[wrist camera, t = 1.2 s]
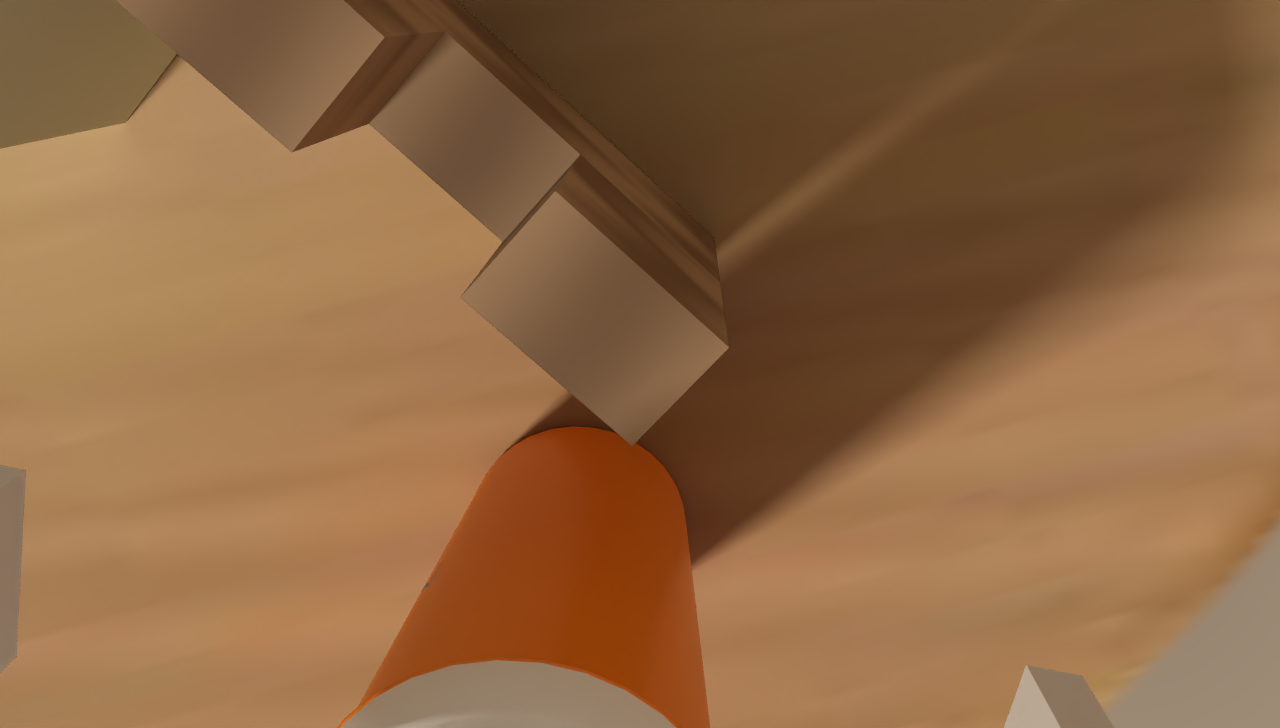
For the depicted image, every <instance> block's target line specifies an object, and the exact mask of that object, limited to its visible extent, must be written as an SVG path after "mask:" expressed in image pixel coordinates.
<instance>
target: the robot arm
mask: <svg viewBox="0 0 1280 728" xmlns="http://www.w3.org/2000/svg"><path fill="white" fill-rule="evenodd" d="M25 477H26V470H23V469H18V468H13V467H8V466H3V465H0V673H1V672H2V671H3V670H4V669H5V668H6V667H7V666H8V665H9V664H10V663H11V662H12V661H13V660H14V659H15V658H16V657H17V637H18V617H19V597H20V577H21V557H22V537H23V517H24V497H25ZM1004 728H1114V726H1113V725H1112V723H1111V721H1110V720H1109V718H1108V716H1107V715H1106V713H1105V712H1104V710H1103V708H1102V707H1101V705H1100V704H1099V702H1098V700H1097V699H1096V697H1095V695H1094V694H1093V692H1092V691H1091V689H1090V687H1089V686H1088V684H1087V683H1086V681H1085V679H1084V678H1083V676H1081V675H1076V674H1071V673H1065V672H1060V671H1055V670H1050V669H1045V668H1040V667H1035V666H1029V665H1026V667H1025V670H1024V673H1023V676H1022V679H1021V681H1020V684H1019V687H1018V690H1017V693H1016V695H1015V698H1014V701H1013V704H1012V707H1011V710H1010V712H1009V715H1008V718H1007V721H1006V724H1005V726H1004Z"/></svg>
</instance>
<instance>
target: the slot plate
mask: <svg viewBox="0 0 1280 728" xmlns="http://www.w3.org/2000/svg"><path fill="white" fill-rule="evenodd" d="M176 55H177V53H176V52H175V51H174V50H172V49H171V48H170V47H169V46H168V45H167V44H165V43H164V42H163V41H162V40H161V39H160V38H158V37H157V36H156V35H155V34H154V33H153V32H152V31H150V30H149V29H148V28H147V27H146V26H145V25H143V24H142V23H141V22H140V21H139V20H138V19H136V18H135V17H134V16H133V15H132V14H131V13H130V12H128V11H127V10H126V9H125V8H124V7H123V6H121V5H120V4H119V3H118V2H117V1H116V0H0V148H5V147H10V146H15V145H20V144H24V143H29V142H34V141H39V140H44V139H49V138H53V137H58V136H63V135H68V134H73V133H77V132H82V131H87V130H92V129H97V128H102V127H106V126H111V125H116V124H121V123H125V122H126V121H127V120H128V118H129V117H130V116H131V114H132V113H133V112H134V110H135V109H136V108H137V106H138V105H139V104H140V102H141V101H142V100H143V98H144V97H145V96H146V94H147V93H148V92H149V91H150V89H151V88H152V87H153V85H154V84H155V83H156V81H157V80H158V79H159V77H160V76H161V75H162V73H163V72H164V71H165V69H166V68H167V67H168V65H169V64H170V63H171V61H172V60H173V59H174V57H175V56H176Z"/></svg>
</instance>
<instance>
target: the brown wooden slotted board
mask: <svg viewBox="0 0 1280 728" xmlns="http://www.w3.org/2000/svg"><path fill="white" fill-rule="evenodd" d="M116 1H117V2H118V3H119V4H120V5H121V6H123V7H124V8H125V9H126V10H127V11H128V12H130V13H131V14H132V15H133V16H134V17H135V18H136V19H138V20H139V21H140V22H141V23H142V24H143V25H145V26H146V27H147V28H148V29H149V30H150V31H152V32H153V33H154V34H155V35H156V36H157V37H158V38H160V39H161V40H162V41H163V42H164V43H165V44H167V45H168V46H169V47H170V48H171V49H172V50H174V51H175V52H176V53H177V54H178V55H179V56H181V57H182V58H183V59H184V60H185V61H186V62H187V63H189V64H190V65H191V66H192V67H193V68H194V69H196V70H197V71H198V72H199V73H200V74H201V75H203V76H204V77H205V78H206V79H207V80H208V81H209V82H211V83H212V84H213V85H214V86H215V87H216V88H218V89H219V90H220V91H221V92H222V93H223V94H225V95H226V96H227V97H228V98H229V99H230V100H232V101H233V102H234V103H235V104H236V105H237V106H238V107H240V108H241V109H242V110H243V111H244V112H245V113H247V114H248V115H249V116H250V117H251V118H252V119H254V120H255V121H256V122H257V123H258V124H259V125H260V126H262V127H263V128H264V129H265V130H266V131H267V132H269V133H270V134H271V135H272V136H273V137H274V138H276V139H277V140H278V141H279V142H280V143H281V144H283V145H284V146H285V147H286V148H287V149H288V150H289V151H291V152H294V151H297V150H299V149H302V148H305V147H307V146H310V145H313V144H316V143H318V142H321V141H324V140H326V139H329V138H332V137H334V136H337V135H340V134H342V133H345V132H348V131H350V130H353V129H356V128H358V127H361V126H364V125H367V124H370V125H371V126H372V127H373V128H374V129H376V130H377V131H378V132H379V133H380V134H381V135H382V136H383V137H385V138H386V139H387V140H388V141H389V142H390V143H391V144H393V145H394V146H395V147H396V148H397V149H398V150H399V151H400V152H402V153H403V154H404V155H405V156H406V157H407V158H408V159H410V160H411V161H412V162H413V163H414V164H415V165H416V166H417V167H419V168H420V169H421V170H422V171H423V172H424V173H425V174H427V175H428V176H429V177H430V178H431V179H432V180H433V181H435V182H436V183H437V184H438V185H439V186H440V187H441V188H442V189H444V190H445V191H446V192H447V193H448V194H449V195H450V196H452V197H453V198H454V199H455V200H456V201H457V202H458V203H459V204H461V205H462V206H463V207H464V208H465V209H466V210H467V211H469V212H470V213H471V214H472V215H473V216H474V217H475V218H477V219H478V220H479V221H480V222H481V223H482V224H483V225H484V226H486V227H487V228H488V229H489V230H490V231H491V232H492V233H494V234H495V235H496V236H497V237H498V238H499V239H500V240H501V241H503V242H502V244H501V245H500V246H499V247H498V249H497V250H496V251H495V253H494V254H493V255H492V257H491V258H490V259H489V261H488V262H487V263H486V265H485V266H484V267H483V268H482V270H481V271H480V272H479V274H478V275H477V276H476V278H475V279H474V280H473V282H472V283H471V284H470V286H469V287H468V288H467V289H466V291H465V292H464V293H463V295H462V296H461V297H460V298H461V299H462V300H463V301H464V302H466V303H467V304H468V305H469V306H470V307H471V308H473V309H474V310H475V311H476V312H477V313H478V314H480V315H481V316H482V317H483V318H484V319H485V320H486V321H488V322H489V323H490V324H491V325H492V326H493V327H495V328H496V329H497V330H498V331H499V332H500V333H502V334H503V335H504V336H505V337H506V338H507V339H509V340H510V341H511V342H512V343H513V344H514V345H515V346H517V347H518V348H519V349H520V350H521V351H522V352H524V353H525V354H526V355H527V356H528V357H529V358H531V359H532V360H533V361H534V362H535V363H536V364H537V365H539V366H540V367H541V368H542V369H543V370H544V371H546V372H547V373H548V374H549V375H550V376H551V377H553V378H554V379H555V380H556V381H557V382H558V383H559V384H561V385H562V386H563V387H564V388H565V389H566V390H568V391H569V392H570V393H571V394H572V395H573V396H575V397H576V398H577V399H578V400H579V401H580V402H582V403H583V404H584V405H585V406H586V407H587V408H588V409H590V410H591V411H592V412H593V413H594V414H595V415H597V416H598V417H599V418H600V419H601V420H602V421H604V422H605V423H606V424H607V425H608V426H609V427H610V428H612V429H613V430H614V431H615V432H616V433H617V434H619V435H620V436H621V437H622V438H623V439H624V440H626V441H627V442H628V443H629V444H630V445H631V446H633V445H634V444H635V443H636V442H637V441H638V440H639V439H640V438H641V437H642V436H643V435H644V434H645V433H646V432H647V431H648V430H649V429H650V428H651V427H652V426H653V424H654V423H655V422H656V421H657V420H658V419H659V418H660V417H661V416H662V415H663V414H664V413H665V412H666V411H667V410H668V409H669V408H670V407H671V406H672V405H673V404H674V403H675V402H676V401H677V400H678V399H679V398H680V397H681V396H682V395H683V394H684V393H685V392H686V391H687V390H688V389H689V388H690V387H691V386H692V385H693V384H694V383H695V382H696V381H697V380H698V379H699V378H700V377H701V376H702V375H703V374H704V373H705V372H706V371H707V370H708V369H709V367H710V366H711V365H712V364H713V363H714V362H715V361H716V360H717V359H718V358H719V357H720V356H721V355H722V354H723V353H724V352H725V351H726V350H727V349H728V348H729V343H728V336H727V328H726V321H725V314H724V307H723V300H722V293H721V286H720V278H719V271H718V264H717V257H716V250H715V243H714V237H712V236H711V235H710V234H709V233H708V232H707V231H706V230H705V229H704V228H703V227H702V226H700V225H699V224H698V223H697V222H696V221H695V220H694V219H693V218H692V217H691V216H690V215H689V214H687V213H686V212H685V211H684V210H683V209H682V208H681V207H680V206H679V205H678V204H677V203H675V202H674V201H673V200H672V199H671V198H670V197H669V196H668V195H667V194H666V193H665V192H664V191H662V190H661V189H660V188H659V187H658V186H657V185H656V184H655V183H654V182H653V181H652V180H650V179H649V178H648V177H647V176H646V175H645V174H644V173H643V172H642V171H641V170H640V169H639V168H637V167H636V166H635V165H634V164H633V163H632V162H631V161H630V160H629V159H628V158H627V157H625V156H624V155H623V154H622V153H621V152H620V151H619V150H618V149H617V148H616V147H615V146H614V145H612V144H611V143H610V142H609V141H608V140H607V139H606V138H605V137H604V136H603V135H602V134H600V133H599V132H598V131H597V130H596V129H595V128H594V127H593V126H592V125H591V124H590V123H589V122H587V121H586V120H585V119H584V118H583V117H582V116H581V115H580V114H579V113H578V112H577V111H575V110H574V109H573V108H572V107H571V106H570V105H569V104H568V103H567V102H566V101H565V100H564V99H562V98H561V97H560V96H559V95H558V94H557V93H556V92H555V91H554V90H553V89H552V88H551V87H549V86H548V85H547V84H546V83H545V82H544V81H543V80H542V79H541V78H540V77H539V76H537V75H536V74H535V73H534V72H533V71H532V70H531V69H530V68H529V67H528V66H527V65H526V64H524V63H523V62H522V61H521V60H520V59H519V58H518V57H517V56H516V55H515V54H514V53H512V52H511V51H510V50H509V49H508V48H507V47H506V46H505V45H504V44H503V43H502V42H501V41H499V40H498V39H497V38H496V37H495V36H494V35H493V34H492V33H491V32H490V31H489V30H487V29H486V28H485V27H484V26H483V25H482V24H481V23H480V22H479V21H478V20H477V19H476V18H474V17H473V16H472V15H471V14H470V13H469V12H468V11H467V10H466V9H465V8H464V7H462V6H461V5H460V4H459V3H458V2H457V1H456V0H116Z"/></svg>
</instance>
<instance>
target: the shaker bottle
mask: <svg viewBox="0 0 1280 728" xmlns="http://www.w3.org/2000/svg"><path fill="white" fill-rule="evenodd" d="M337 728H710V722H709V714H708V705H707V697H706V688H705V679H704V671H703V662H702V654H701V645H700V637H699V628H698V620H697V611H696V603H695V594H694V585H693V577H692V568H691V560H690V551H689V543H688V534H687V526H686V518H685V512H684V505H683V502H682V499H681V497H680V494H679V491H678V489H677V486H676V484H675V483H674V481H673V479H672V478H671V476H670V475H669V473H668V472H667V470H666V468H665V467H664V466H663V465H662V464H661V463H660V462H659V461H658V460H657V459H656V458H655V457H654V456H653V455H652V454H651V453H650V452H648V451H647V450H646V449H644V448H643V447H641V446H640V445H638V444H637V443H635V444H634V445H633V446H631V445H630V444H629V443H628V442H627V441H626V440H624V439H623V438H622V437H621V436H620V435H619V434H617V433H614V432H611V431H606V430H602V429H598V428H594V427H578V426H570V427H563V428H555V429H550V430H547V431H544V432H541V433H538V434H535V435H532V436H530V437H528V438H526V439H524V440H523V441H521V442H519V443H517V444H516V445H514V446H512V447H511V448H510V449H509V450H508V451H507V452H506V453H504V454H503V455H502V456H501V457H500V458H499V459H498V460H497V461H496V462H495V464H494V465H493V466H492V468H491V469H490V470H489V472H488V473H487V474H486V476H485V478H484V480H483V481H482V483H481V485H480V487H479V489H478V490H477V492H476V494H475V496H474V498H473V499H472V501H471V503H470V505H469V507H468V508H467V510H466V512H465V514H464V516H463V518H462V519H461V521H460V523H459V525H458V527H457V528H456V530H455V532H454V534H453V536H452V537H451V539H450V541H449V543H448V545H447V546H446V548H445V550H444V552H443V554H442V556H441V557H440V559H439V561H438V563H437V565H436V566H435V568H434V570H433V572H432V574H431V575H430V577H429V579H428V581H427V583H426V584H425V586H424V588H423V590H422V592H421V594H420V595H419V597H418V599H417V601H416V603H415V604H414V606H413V608H412V610H411V612H410V613H409V615H408V617H407V619H406V621H405V622H404V624H403V626H402V628H401V630H400V632H399V633H398V635H397V637H396V639H395V641H394V642H393V644H392V646H391V648H390V650H389V651H388V653H387V655H386V657H385V659H384V660H383V662H382V664H381V666H380V668H379V670H378V671H377V673H376V675H375V677H374V679H373V680H372V682H371V684H370V686H369V688H368V689H367V691H366V693H365V695H364V697H363V698H362V700H361V702H360V704H359V706H358V708H357V709H355V710H354V711H353V712H352V713H351V714H349V715H348V716H347V717H346V718H345V719H344V720H343V721H342V722H341V724H340V725H339V726H338V727H337Z"/></svg>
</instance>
